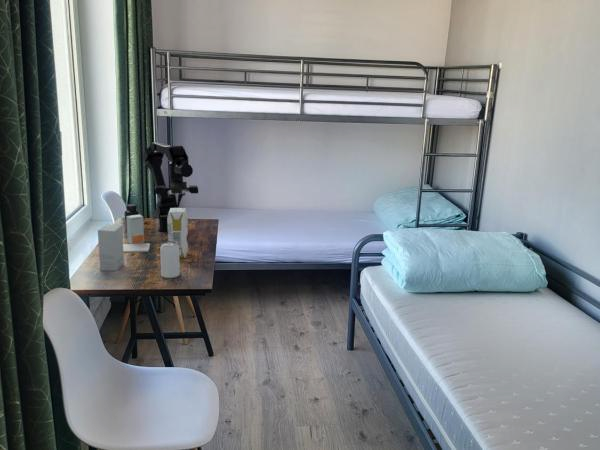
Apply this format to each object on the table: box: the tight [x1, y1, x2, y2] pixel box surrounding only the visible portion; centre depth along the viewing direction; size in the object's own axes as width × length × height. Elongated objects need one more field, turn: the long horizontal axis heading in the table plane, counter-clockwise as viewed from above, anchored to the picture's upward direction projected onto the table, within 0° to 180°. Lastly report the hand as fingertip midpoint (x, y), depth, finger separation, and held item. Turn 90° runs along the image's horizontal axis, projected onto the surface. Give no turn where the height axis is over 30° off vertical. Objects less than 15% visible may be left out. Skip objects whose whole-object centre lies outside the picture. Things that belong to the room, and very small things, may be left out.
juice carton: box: [167, 207, 189, 259], centre depth 201 cm, size 8×9×19 cm
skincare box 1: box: [97, 223, 125, 272], centre depth 186 cm, size 8×7×16 cm
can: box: [159, 240, 181, 279], centre depth 180 cm, size 6×6×12 cm
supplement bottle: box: [124, 203, 141, 232], centre depth 238 cm, size 7×7×12 cm
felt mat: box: [123, 242, 151, 253], centre depth 211 cm, size 10×12×1 cm
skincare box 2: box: [126, 214, 145, 244], centre depth 217 cm, size 6×4×12 cm
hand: (177, 208), depth 228 cm, fingers closed
